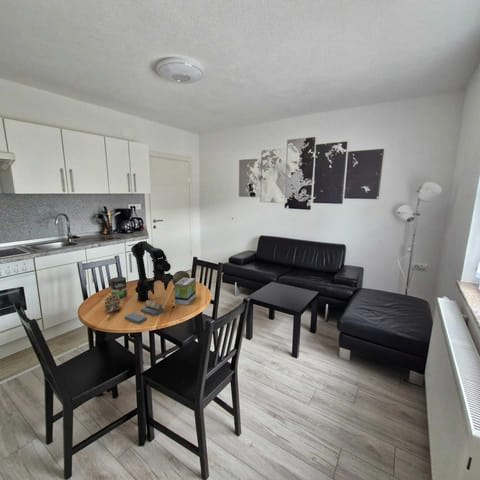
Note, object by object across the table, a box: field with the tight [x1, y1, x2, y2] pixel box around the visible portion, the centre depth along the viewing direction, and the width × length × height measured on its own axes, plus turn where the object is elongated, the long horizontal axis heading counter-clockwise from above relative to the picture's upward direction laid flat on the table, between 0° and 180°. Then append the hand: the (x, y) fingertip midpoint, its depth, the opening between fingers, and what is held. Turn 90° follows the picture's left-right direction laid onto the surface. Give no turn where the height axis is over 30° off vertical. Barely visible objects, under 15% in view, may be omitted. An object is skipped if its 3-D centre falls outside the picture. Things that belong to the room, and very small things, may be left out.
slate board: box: [124, 306, 165, 325], centre depth 158 cm, size 20×12×2 cm, turn 151°
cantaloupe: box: [171, 270, 191, 287], centre depth 200 cm, size 14×14×15 cm
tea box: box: [174, 277, 197, 306], centre depth 179 cm, size 15×10×15 cm
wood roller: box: [144, 299, 163, 310], centre depth 163 cm, size 4×11×4 cm, turn 61°
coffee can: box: [109, 276, 128, 301], centre depth 183 cm, size 10×10×14 cm
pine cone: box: [104, 294, 122, 314], centre depth 160 cm, size 22×10×10 cm, turn 21°
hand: (159, 292), depth 164 cm, fingers open, 9 cm apart
